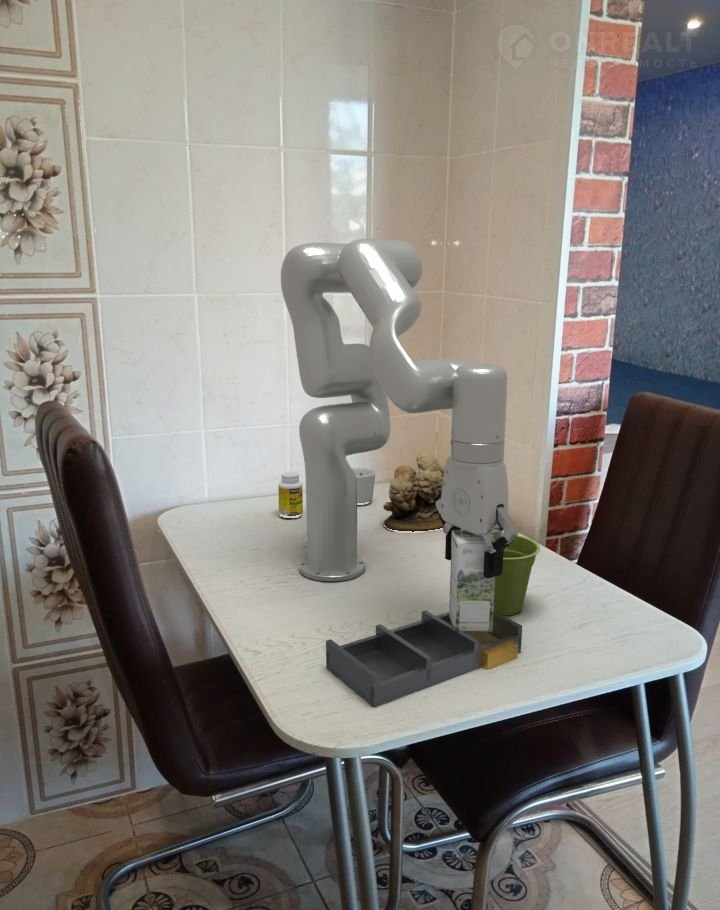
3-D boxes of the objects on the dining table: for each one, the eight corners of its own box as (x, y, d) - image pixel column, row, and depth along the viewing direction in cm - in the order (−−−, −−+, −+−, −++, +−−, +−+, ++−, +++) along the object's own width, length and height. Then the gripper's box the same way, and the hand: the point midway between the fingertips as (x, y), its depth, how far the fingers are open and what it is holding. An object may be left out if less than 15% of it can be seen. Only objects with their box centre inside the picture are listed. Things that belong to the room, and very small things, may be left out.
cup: (328, 506, 182) (328, 474, 180) (335, 497, 189) (334, 466, 187) (372, 508, 180) (372, 476, 178) (377, 499, 188) (377, 468, 186)
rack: (326, 668, 107) (325, 640, 106) (466, 621, 121) (467, 597, 120) (378, 711, 96) (378, 681, 95) (525, 654, 110) (527, 628, 109)
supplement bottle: (289, 521, 170) (288, 478, 168) (274, 516, 174) (273, 473, 172) (307, 516, 174) (307, 474, 172) (292, 511, 178) (291, 469, 176)
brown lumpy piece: (440, 512, 178) (442, 442, 174) (468, 526, 168) (472, 453, 164) (373, 522, 170) (374, 449, 166) (399, 538, 160) (401, 461, 156)
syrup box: (485, 616, 116) (488, 527, 112) (493, 634, 110) (497, 540, 107) (448, 616, 116) (451, 527, 112) (454, 634, 110) (457, 541, 106)
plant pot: (452, 599, 129) (454, 538, 127) (509, 588, 134) (513, 529, 131) (489, 628, 119) (493, 562, 116) (551, 615, 123) (555, 551, 121)
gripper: (418, 443, 112) (416, 554, 116) (501, 467, 97) (495, 592, 102) (457, 437, 116) (453, 545, 120) (541, 460, 102) (534, 580, 106)
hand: (473, 566), depth 111 cm, fingers closed on syrup box, 7 cm apart
